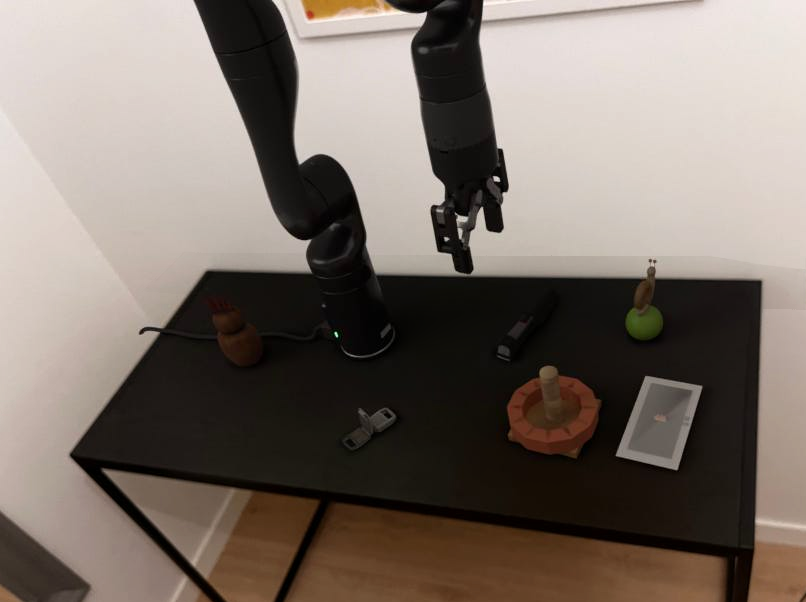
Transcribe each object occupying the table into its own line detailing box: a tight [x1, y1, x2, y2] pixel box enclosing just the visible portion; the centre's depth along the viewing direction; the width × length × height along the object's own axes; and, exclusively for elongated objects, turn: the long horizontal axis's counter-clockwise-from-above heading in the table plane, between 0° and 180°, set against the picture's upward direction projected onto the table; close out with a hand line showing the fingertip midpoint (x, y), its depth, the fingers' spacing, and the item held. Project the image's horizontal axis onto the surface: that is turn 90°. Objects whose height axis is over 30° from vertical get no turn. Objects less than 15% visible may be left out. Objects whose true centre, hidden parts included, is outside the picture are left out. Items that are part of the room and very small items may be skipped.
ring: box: [506, 374, 600, 456], centre depth 98 cm, size 12×12×3 cm
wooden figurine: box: [201, 293, 264, 367], centre depth 118 cm, size 7×6×15 cm
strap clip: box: [341, 407, 397, 451], centre depth 104 cm, size 8×3×4 cm, turn 128°
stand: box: [507, 365, 602, 459], centre depth 96 cm, size 10×10×10 cm
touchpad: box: [615, 375, 704, 471], centre depth 95 cm, size 8×15×2 cm, turn 154°
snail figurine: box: [625, 258, 664, 341], centre depth 105 cm, size 5×6×12 cm
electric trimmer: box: [494, 286, 558, 362], centre depth 114 cm, size 4×16×3 cm, turn 143°
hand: (480, 250), depth 87 cm, fingers open, 8 cm apart
